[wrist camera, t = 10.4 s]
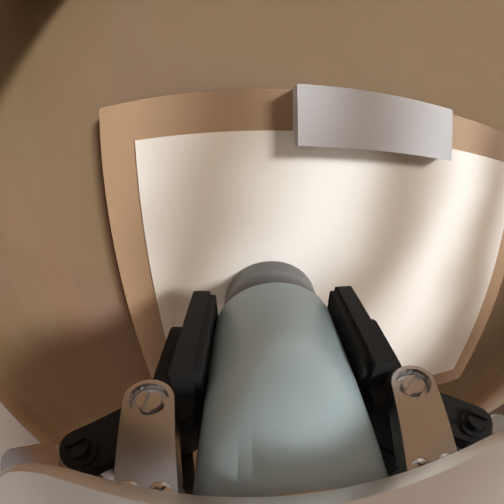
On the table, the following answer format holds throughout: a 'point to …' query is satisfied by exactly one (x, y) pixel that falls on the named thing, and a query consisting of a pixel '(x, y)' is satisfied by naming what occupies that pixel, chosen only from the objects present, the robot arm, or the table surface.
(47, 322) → the table surface
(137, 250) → the clipboard
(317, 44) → the table surface
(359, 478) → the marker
